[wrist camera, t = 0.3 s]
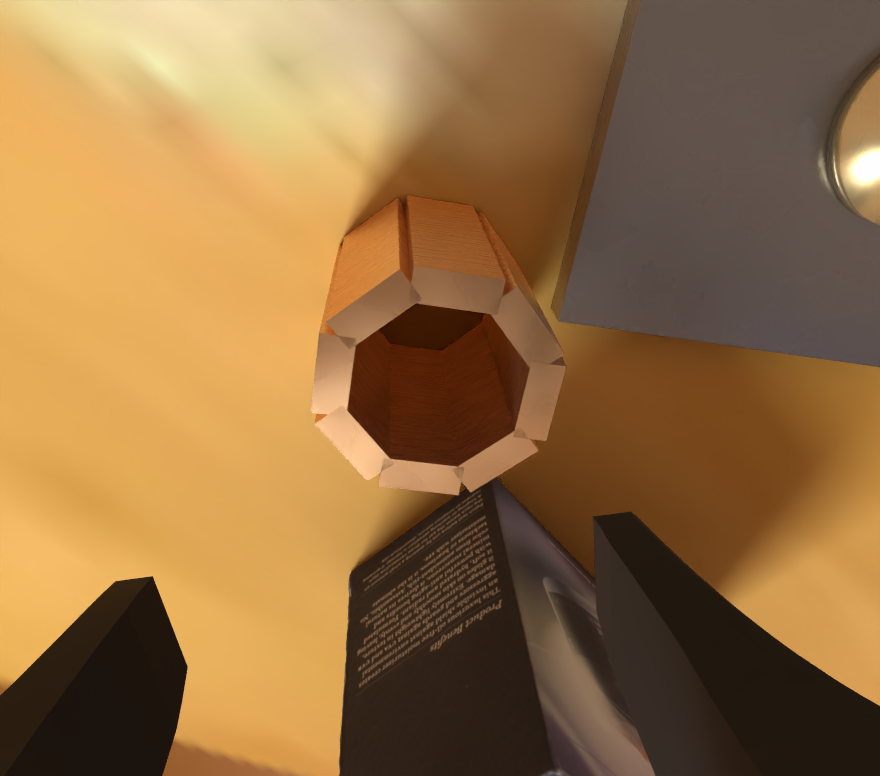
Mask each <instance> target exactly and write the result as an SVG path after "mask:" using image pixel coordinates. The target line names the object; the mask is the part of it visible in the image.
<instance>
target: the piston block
mask: <svg viewBox="0 0 880 776" xmlns="http://www.w3.org/2000/svg"><path fill="white" fill-rule="evenodd" d="M551 309H552V311H553V313H554V314H555V316H556V318H557V320H558V321H561V322H568V323H575V324H582V325H589V326H596V327H603V328H610V329H617V330H624V331H631V332H638V333H645V334H652V335H659V336H666V337H673V338H680V339H687V340H694V341H701V342H708V343H715V344H722V345H729V346H736V347H743V348H750V349H757V350H764V351H771V352H778V353H785V354H792V355H799V356H806V357H813V358H820V359H827V360H834V361H841V362H848V363H855V364H862V365H869V366H876V367H880V0H628V4H627V8H626V11H625V15H624V19H623V23H622V27H621V31H620V35H619V39H618V43H617V47H616V51H615V55H614V59H613V63H612V67H611V71H610V75H609V79H608V83H607V87H606V91H605V95H604V99H603V103H602V107H601V111H600V115H599V119H598V123H597V127H596V131H595V135H594V139H593V143H592V147H591V151H590V154H589V158H588V162H587V166H586V170H585V174H584V178H583V182H582V186H581V190H580V194H579V198H578V202H577V206H576V210H575V214H574V218H573V222H572V226H571V230H570V234H569V238H568V242H567V246H566V250H565V254H564V258H563V262H562V266H561V270H560V274H559V278H558V282H557V286H556V290H555V294H554V297H553V301H552V305H551Z"/></svg>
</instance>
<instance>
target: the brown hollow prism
mask: <svg viewBox="0 0 880 776" xmlns="http://www.w3.org/2000/svg"><path fill="white" fill-rule="evenodd" d="M416 303H417V304H424V305H431V306H438V307H445V308H452V309H459V310H466V311H473V312H480V313H484V315H483V320H482V323H481V324H479V325H478V326H476V327H475V328H473V329H472V330H470V331H469V332H467V333H466V334H464V335H463V336H461V337H460V338H458V339H457V340H455V341H454V342H452V343H451V344H449V345H448V346H446V347H445V348H443V349H442V350H433V349H426V348H418V347H411V346H403V345H396V344H390V343H389V341H388V340H387V339H386V338H385V337H384V335H383V334H382V333H381V332H380V330H379V329H380V328H381V327H383V326H384V325H386V324H387V323H388V322H390V321H391V320H393V319H394V318H396V317H397V316H398V315H400V314H401V313H403V312H404V311H406V310H407V309H409V308H410V307H411V306H413V305H414V304H416ZM563 355H564V352H563V350H562V349H561V347H560V345H559V343H558V341H557V339H556V337H555V335H554V333H553V331H552V329H551V327H550V325H549V324H548V322H547V320H546V318H545V316H544V314H543V312H542V310H541V308H540V306H539V304H538V302H537V300H536V299H535V297H534V295H533V293H532V291H531V289H530V287H529V285H528V283H527V281H526V279H525V277H524V275H523V274H522V272H521V270H520V268H519V266H518V264H517V262H516V261H515V259H514V258H513V256H512V255H511V253H510V252H509V251H508V249H507V248H506V246H505V245H504V243H503V242H502V240H501V239H500V237H499V236H498V234H497V233H496V231H495V230H494V229H493V227H492V226H491V224H490V223H489V221H488V220H487V218H486V217H485V215H484V214H483V212H480V213H479V214H476V211H475V209H474V207H473V206H471V205H464V204H458V203H452V202H446V201H440V200H433V199H427V198H421V197H415V196H409V195H407V202H406V208H404V206H403V205H402V204H401V202H400V201H399V199H398V198H396V199H395V200H394V201H392V202H391V203H389V204H388V205H387V206H385V207H384V208H383V209H381V210H380V211H379V212H377V213H376V214H375V215H373V216H372V217H371V218H369V219H368V220H366V221H365V222H364V223H362V224H361V225H360V226H358V227H357V228H356V229H354V230H353V231H352V232H350V233H349V234H347V235H346V236H345V237H344V241H343V245H342V246H340V245H339V249H338V254H337V258H336V262H335V267H334V271H333V275H332V280H331V284H330V288H329V293H328V297H327V301H326V306H325V310H324V314H323V319H322V323H321V327H320V332H319V339H318V348H317V358H316V367H315V376H314V386H313V395H312V404H311V413H317V414H316V419H315V425H316V426H317V427H318V428H319V429H320V430H321V432H322V433H323V434H324V435H325V436H326V437H327V438H328V439H329V440H330V441H331V442H332V443H333V444H334V446H335V447H336V448H337V449H338V450H339V451H340V452H341V453H342V454H343V455H344V456H345V457H346V459H347V460H348V461H349V462H350V463H351V464H352V465H353V466H354V467H355V468H356V469H357V470H358V472H359V473H360V474H361V475H362V476H363V477H364V478H365V479H366V480H367V481H368V480H370V479H371V478H373V477H374V476H376V475H378V474H379V485H378V486H379V487H388V488H397V489H406V490H416V491H425V492H434V493H443V494H452V495H459V490H460V486H461V482H462V483H463V484H464V485H465V486H466V487H467V489H468V490H469V491H470V492H472V491H474V490H476V489H477V488H479V487H480V486H482V485H484V484H485V483H487V482H489V481H490V480H492V479H493V478H495V477H497V476H498V475H500V474H502V473H503V472H505V471H507V470H508V469H510V468H511V467H513V466H515V465H516V464H518V463H520V462H521V461H523V460H524V459H526V458H528V457H529V456H531V455H533V454H534V453H536V452H537V451H539V450H538V447H537V444H536V441H535V440H542V441H546V440H547V436H548V433H549V429H550V425H551V422H552V418H553V414H554V411H555V407H556V403H557V400H558V396H559V392H560V389H561V385H562V381H563V378H564V374H565V370H566V365H565V363H564V361H563V359H562V357H561V356H563Z"/></svg>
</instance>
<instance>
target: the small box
mask: <svg viewBox="0 0 880 776" xmlns="http://www.w3.org/2000/svg"><path fill="white" fill-rule="evenodd" d="M339 768H340V774H339V776H655V774H654V771H653V769H652V766H651V764H650V761H649V759H648V756H647V754H646V751H645V749H644V747H643V744H642V742H641V739H640V737H639V734H638V732H637V729H636V727H635V725H634V722H633V720H632V717H631V715H630V712H629V710H628V707H627V705H626V702H625V700H624V697H623V695H622V692H621V690H620V687H619V685H618V682H617V680H616V677H615V675H614V672H613V670H612V666H611V663H610V659H609V656H608V652H607V649H606V645H605V642H604V638H603V634H602V630H601V627H600V623H599V619H598V616H597V612H596V583H595V579H594V578H593V577H592V576H591V575H590V574H589V573H588V572H587V571H586V570H585V569H584V568H583V567H582V566H581V565H580V564H579V562H578V561H577V560H575V559H574V558H573V557H572V556H571V555H570V553H569V552H568V551H567V550H566V549H565V548H564V547H563V546H562V545H561V544H560V543H559V542H558V541H557V540H556V539H555V538H554V537H553V536H552V535H551V534H550V533H549V532H548V531H547V530H546V529H545V528H544V527H543V526H542V525H541V524H540V523H539V522H538V521H537V520H536V519H535V518H534V517H533V515H532V514H531V513H530V512H529V511H528V510H527V509H526V508H525V507H524V506H523V505H522V504H521V503H520V502H519V501H518V500H517V499H516V498H515V497H514V496H513V495H512V494H511V493H510V492H509V491H508V490H507V489H506V488H505V487H504V486H503V485H502V484H501V483H500V482H499V481H498V479H497V478H496V477H495V478H493V479H492V480H490V481H489V482H487V483H485V484H484V485H482V486H480V487H479V488H477V489H476V490H474V491H472V492H470V491H469V490H468V489H466V490H464V491H463V492H461V493H460V494H459V495H457V496H456V497H454V498H453V499H452V500H450V501H449V502H448V503H446V504H445V505H444V506H442V507H441V508H439V509H438V510H437V511H435V512H434V513H432V514H431V515H430V516H428V517H427V518H425V519H424V520H423V521H421V522H420V523H418V524H417V525H416V526H414V527H413V528H412V529H410V530H409V531H408V532H406V533H405V534H404V535H402V536H401V537H399V538H398V539H397V540H395V541H394V542H393V543H391V544H390V545H389V546H387V547H386V548H385V549H383V550H382V551H381V552H379V553H377V554H376V555H375V556H374V557H372V558H371V559H369V560H368V561H367V562H365V563H364V564H363V565H361V566H360V567H359V568H357V569H356V570H354V571H353V572H352V573H351V574H350V577H349V605H348V631H347V641H346V663H345V678H344V693H343V709H342V725H341V735H340V758H339Z"/></svg>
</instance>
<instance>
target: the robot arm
mask: <svg viewBox="0 0 880 776" xmlns="http://www.w3.org/2000/svg"><path fill="white" fill-rule="evenodd" d="M593 524H594V554H595V583H596V612H597V616H598V619H599V623H600V627H601V630H602V634H603V638H604V642H605V645H606V649H607V652H608V656H609V659H610V663H611V666H612V670H613V672H614V675H615V677H616V680H617V682H618V685H619V687H620V690H621V692H622V695H623V697H624V700H625V702H626V705H627V707H628V710H629V712H630V715H631V717H632V720H633V722H634V725H635V727H636V729H637V732H638V734H639V737H640V739H641V742H642V744H643V747H644V749H645V751H646V754H647V756H648V759H649V761H650V764H651V766H652V769H653V771H654V774H655V776H880V706H879V705H877V704H875V703H874V702H872V701H870V700H868V699H867V698H865V697H863V696H861V695H860V694H858V693H856V692H855V691H853V690H851V689H850V688H848V687H847V686H845V685H843V684H842V683H840V682H838V681H837V680H835V679H834V678H832V677H831V676H829V675H828V674H826V673H825V672H823V671H822V670H820V669H819V668H817V667H816V666H814V665H813V664H811V663H810V662H808V661H807V660H805V659H804V658H802V657H801V656H799V655H798V654H796V653H795V652H793V651H792V650H791V649H789V648H788V647H786V646H785V645H784V644H782V643H781V642H780V641H778V640H777V639H776V638H774V637H773V636H771V635H770V634H769V633H768V632H766V631H765V630H764V629H762V628H761V627H760V626H759V625H757V624H756V623H755V622H753V621H752V620H751V619H750V618H748V617H747V616H746V615H744V614H743V613H742V612H741V611H740V610H738V609H737V608H736V607H735V606H733V605H732V604H731V603H730V602H729V601H727V600H726V599H725V598H724V597H723V596H722V595H720V594H719V593H718V592H717V591H716V590H715V589H714V588H712V587H711V586H710V585H709V584H708V583H707V582H705V581H704V580H703V579H702V578H701V577H700V576H699V575H697V574H696V573H695V572H694V571H693V570H692V569H691V568H690V567H689V566H688V565H686V564H685V563H684V562H683V561H682V560H681V559H680V558H679V557H678V556H677V555H676V554H675V553H674V552H673V551H672V550H670V549H669V548H668V547H667V546H666V545H665V544H664V543H663V542H662V541H661V540H660V539H659V538H658V537H657V536H656V535H655V534H654V533H653V532H652V531H651V530H650V529H649V528H648V527H647V526H646V525H645V524H644V523H643V522H642V521H641V520H640V519H639V518H638V517H637V516H636V515H634V514H633V513H632V512H625V513H618V514H610V515H603V516H595V517H593ZM187 668H188V667H187V664H186V662H185V659H184V656H183V654H182V651H181V649H180V646H179V643H178V641H177V638H176V636H175V633H174V630H173V628H172V625H171V623H170V620H169V618H168V615H167V612H166V610H165V607H164V605H163V602H162V599H161V597H160V594H159V592H158V589H157V586H156V584H155V581H154V579H153V576H152V577H144V578H137V579H130V580H122V581H115V582H114V583H113V584H112V585H111V586H110V587H109V588H108V589H107V590H106V591H105V592H104V593H103V594H102V595H101V596H100V597H98V598H97V599H96V600H95V601H94V602H93V603H92V604H91V605H90V606H89V607H88V608H87V609H86V611H85V612H84V613H83V614H82V615H81V616H80V617H79V618H78V619H77V620H76V621H75V622H74V623H73V624H72V625H71V626H70V627H69V628H68V629H67V630H66V631H65V632H64V633H63V634H62V635H61V636H60V637H59V638H58V639H57V640H56V641H55V642H54V643H53V644H52V645H51V646H50V647H49V648H48V649H47V650H46V651H45V652H44V653H43V654H42V655H41V656H40V657H39V658H38V659H37V660H36V661H35V662H34V663H33V664H32V665H31V666H30V667H29V668H28V669H27V670H26V671H25V672H24V673H23V674H22V675H21V676H20V677H19V678H18V679H17V680H16V681H15V682H14V683H13V684H12V685H11V686H10V687H9V688H8V689H7V690H6V691H4V692H3V694H1V695H0V776H162V775H163V772H164V768H165V765H166V762H167V759H168V756H169V752H170V749H171V746H172V742H173V739H174V736H175V733H176V729H177V724H178V719H179V714H180V709H181V704H182V698H183V692H184V686H185V680H186V674H187Z"/></svg>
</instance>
